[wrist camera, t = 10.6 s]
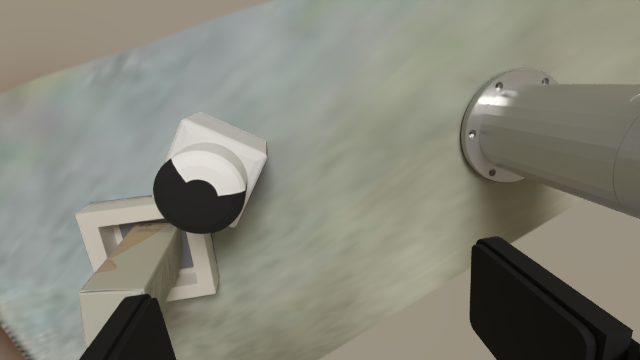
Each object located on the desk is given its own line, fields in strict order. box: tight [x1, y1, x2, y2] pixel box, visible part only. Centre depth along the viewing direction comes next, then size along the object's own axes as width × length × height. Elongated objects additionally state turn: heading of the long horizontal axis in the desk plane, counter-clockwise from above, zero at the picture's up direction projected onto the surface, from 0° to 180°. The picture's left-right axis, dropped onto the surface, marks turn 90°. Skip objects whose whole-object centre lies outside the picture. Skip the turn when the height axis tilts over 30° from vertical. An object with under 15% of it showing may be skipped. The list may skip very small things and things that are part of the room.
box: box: [78, 223, 182, 348], centre depth 28 cm, size 5×4×11 cm
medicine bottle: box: [152, 112, 267, 234], centre depth 27 cm, size 7×7×12 cm
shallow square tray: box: [75, 195, 219, 302], centre depth 33 cm, size 10×10×3 cm
